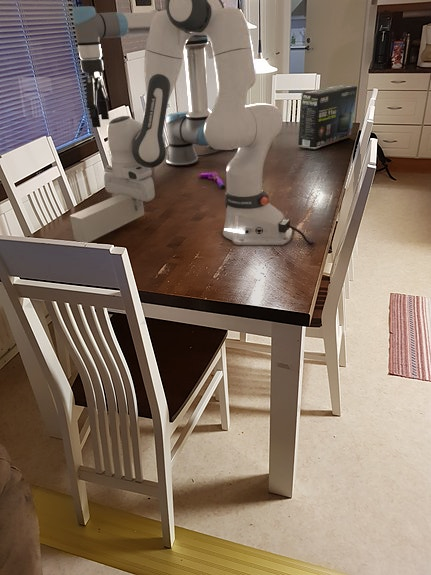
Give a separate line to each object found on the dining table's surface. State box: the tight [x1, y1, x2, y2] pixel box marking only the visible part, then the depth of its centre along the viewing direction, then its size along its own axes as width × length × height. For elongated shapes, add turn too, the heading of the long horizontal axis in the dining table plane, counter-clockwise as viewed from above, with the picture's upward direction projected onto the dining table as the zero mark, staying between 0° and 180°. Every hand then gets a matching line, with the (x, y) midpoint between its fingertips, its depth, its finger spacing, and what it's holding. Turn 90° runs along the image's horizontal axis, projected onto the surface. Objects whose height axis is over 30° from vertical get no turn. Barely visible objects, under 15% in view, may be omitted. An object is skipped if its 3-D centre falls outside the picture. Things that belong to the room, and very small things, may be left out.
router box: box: [297, 84, 358, 151], centre depth 238 cm, size 36×11×27 cm, turn 134°
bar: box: [69, 194, 145, 243], centre depth 150 cm, size 27×5×8 cm, turn 145°
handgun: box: [199, 171, 226, 190], centre depth 194 cm, size 21×8×2 cm, turn 11°
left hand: (101, 123), depth 169 cm, fingers open, 13 cm apart
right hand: (131, 208), depth 158 cm, fingers closed on bar, 5 cm apart
